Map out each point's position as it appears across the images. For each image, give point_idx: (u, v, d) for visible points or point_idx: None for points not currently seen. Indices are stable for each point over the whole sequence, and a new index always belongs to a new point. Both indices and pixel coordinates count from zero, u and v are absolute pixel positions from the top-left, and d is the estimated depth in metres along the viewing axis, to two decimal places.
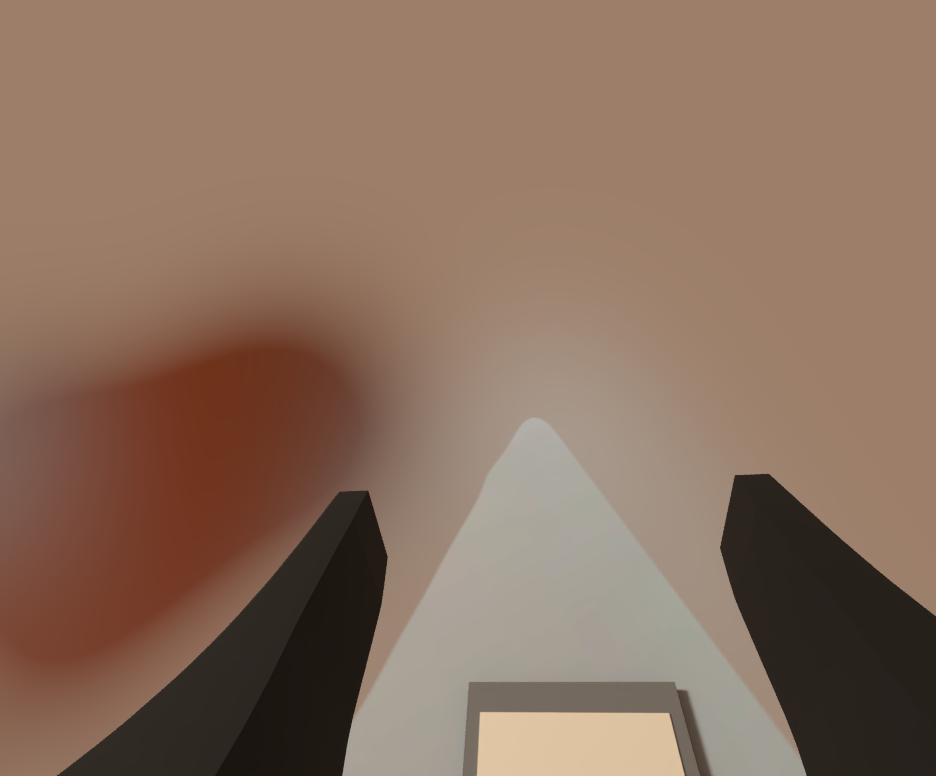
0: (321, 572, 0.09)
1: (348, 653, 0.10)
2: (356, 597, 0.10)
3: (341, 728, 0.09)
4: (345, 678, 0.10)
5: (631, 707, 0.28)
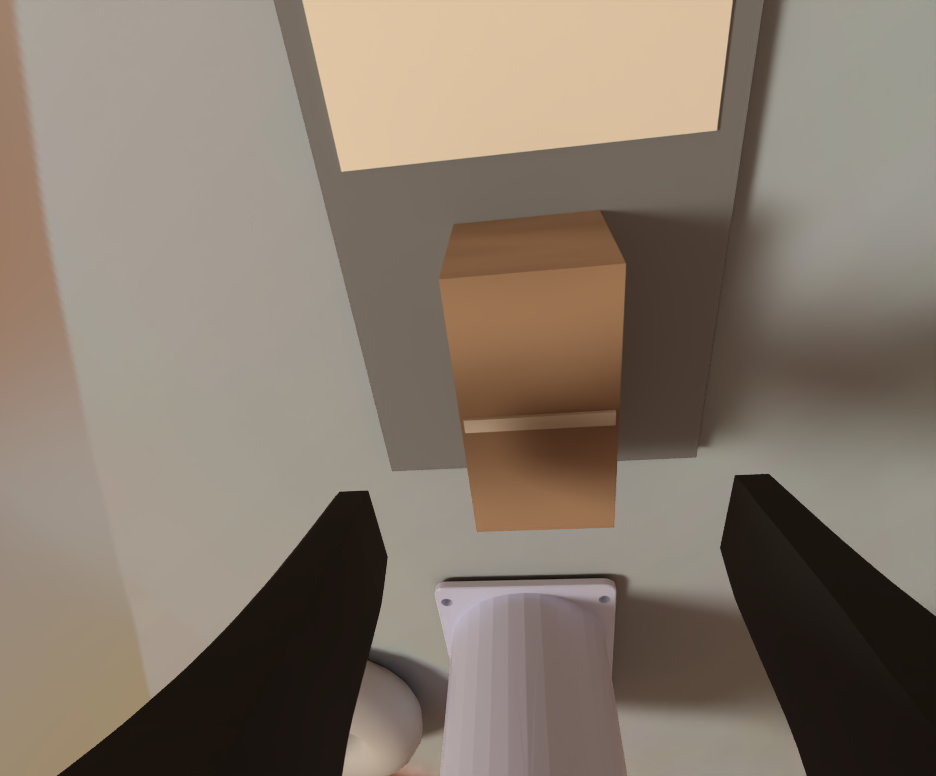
0: (321, 572, 0.09)
1: (348, 653, 0.10)
2: (356, 597, 0.10)
3: (341, 729, 0.09)
4: (345, 678, 0.10)
5: None
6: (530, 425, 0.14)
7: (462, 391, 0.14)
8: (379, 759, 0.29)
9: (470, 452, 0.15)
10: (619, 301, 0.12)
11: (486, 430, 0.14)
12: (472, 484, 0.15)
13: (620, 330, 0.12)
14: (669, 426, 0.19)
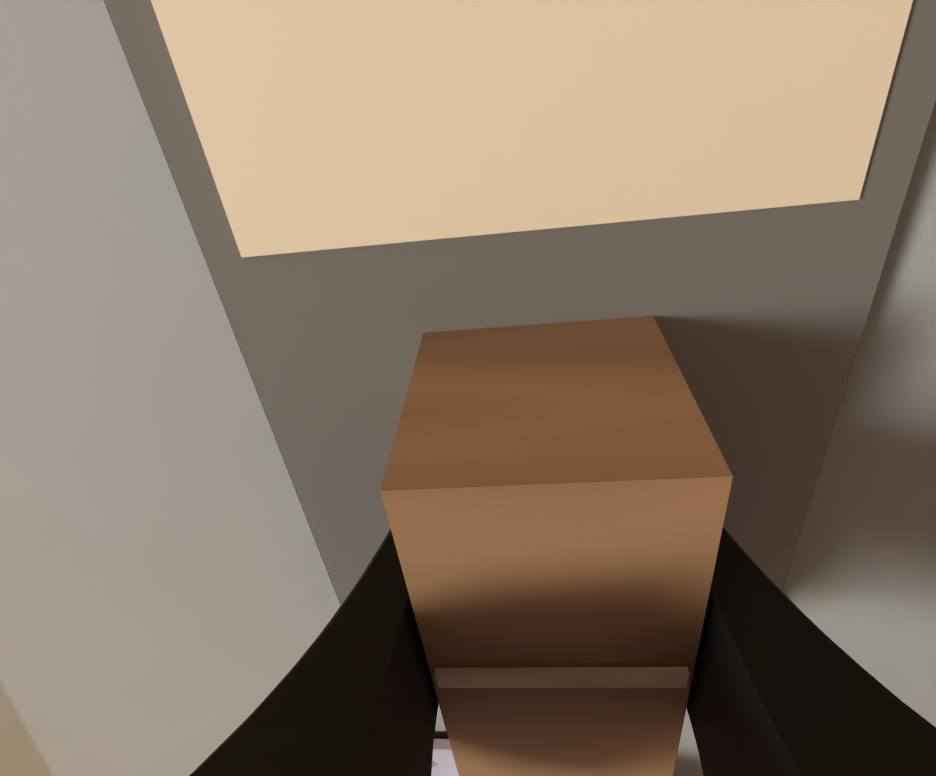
0: None
1: None
2: None
3: (428, 730, 0.09)
4: (431, 678, 0.09)
5: None
6: (544, 679, 0.09)
7: (431, 636, 0.08)
8: None
9: (448, 705, 0.09)
10: (712, 530, 0.07)
11: (472, 682, 0.09)
12: (452, 737, 0.10)
13: (709, 569, 0.07)
14: None
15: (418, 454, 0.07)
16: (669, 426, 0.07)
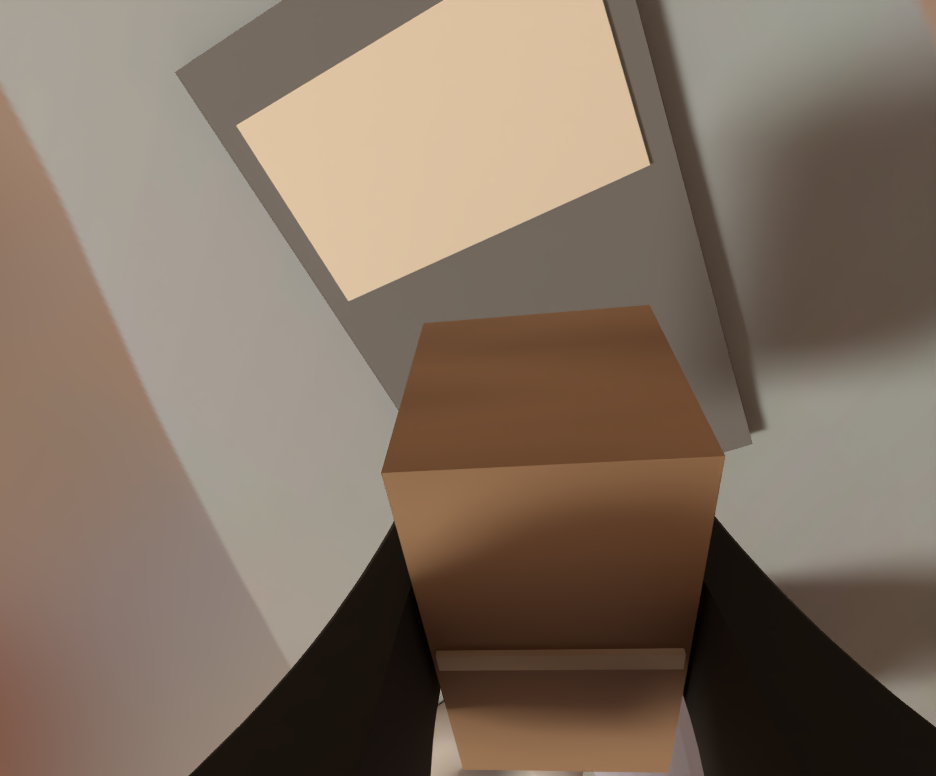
0: None
1: None
2: None
3: (428, 730, 0.09)
4: (431, 678, 0.09)
5: None
6: (544, 661, 0.09)
7: (432, 619, 0.08)
8: None
9: (449, 688, 0.09)
10: (706, 510, 0.07)
11: (473, 665, 0.09)
12: (454, 721, 0.10)
13: (703, 549, 0.07)
14: (713, 423, 0.19)
15: (418, 438, 0.07)
16: (663, 409, 0.07)
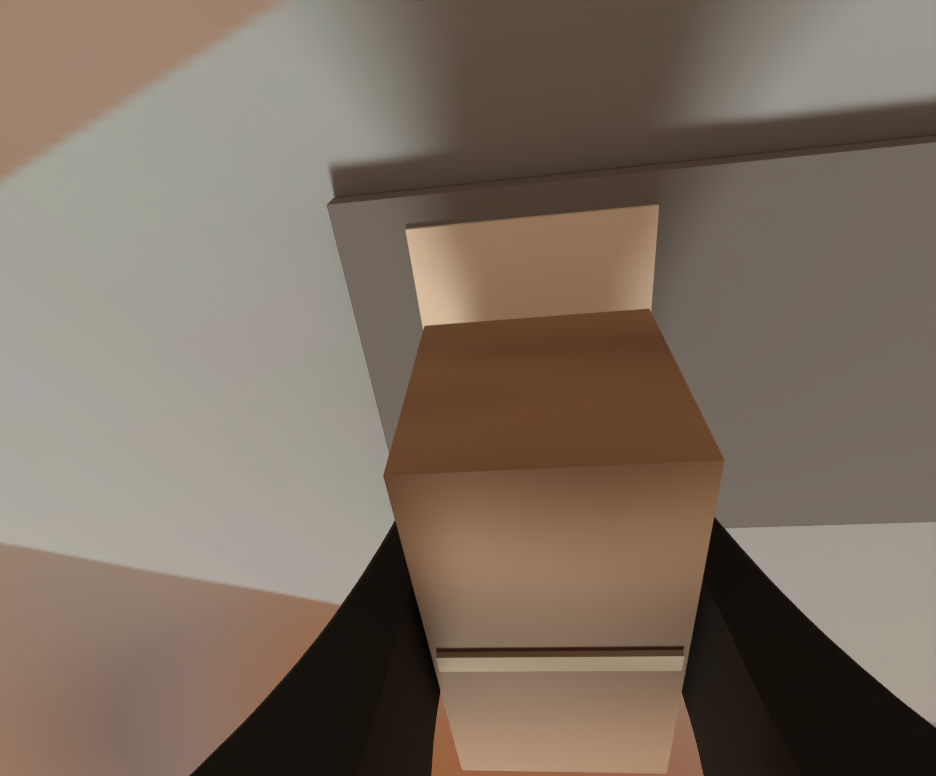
0: None
1: None
2: None
3: (428, 729, 0.09)
4: (431, 678, 0.09)
5: (405, 301, 0.14)
6: (543, 663, 0.09)
7: (433, 620, 0.08)
8: None
9: (449, 689, 0.09)
10: (705, 513, 0.07)
11: (472, 665, 0.09)
12: (453, 722, 0.10)
13: (702, 552, 0.07)
14: None
15: (420, 441, 0.07)
16: (663, 413, 0.07)
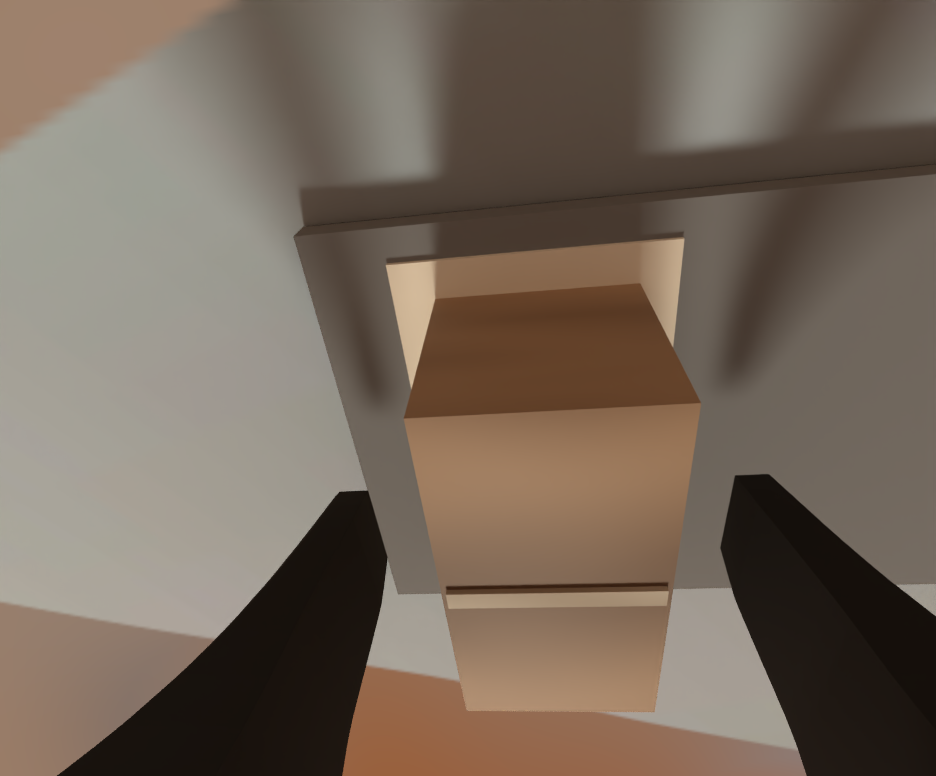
0: (321, 572, 0.09)
1: (348, 653, 0.10)
2: (356, 597, 0.10)
3: (340, 729, 0.09)
4: (345, 678, 0.10)
5: (388, 344, 0.12)
6: (542, 600, 0.10)
7: (443, 557, 0.09)
8: None
9: (456, 627, 0.10)
10: (685, 453, 0.08)
11: (479, 603, 0.10)
12: (459, 661, 0.11)
13: (683, 490, 0.08)
14: None
15: (435, 391, 0.08)
16: (650, 367, 0.08)
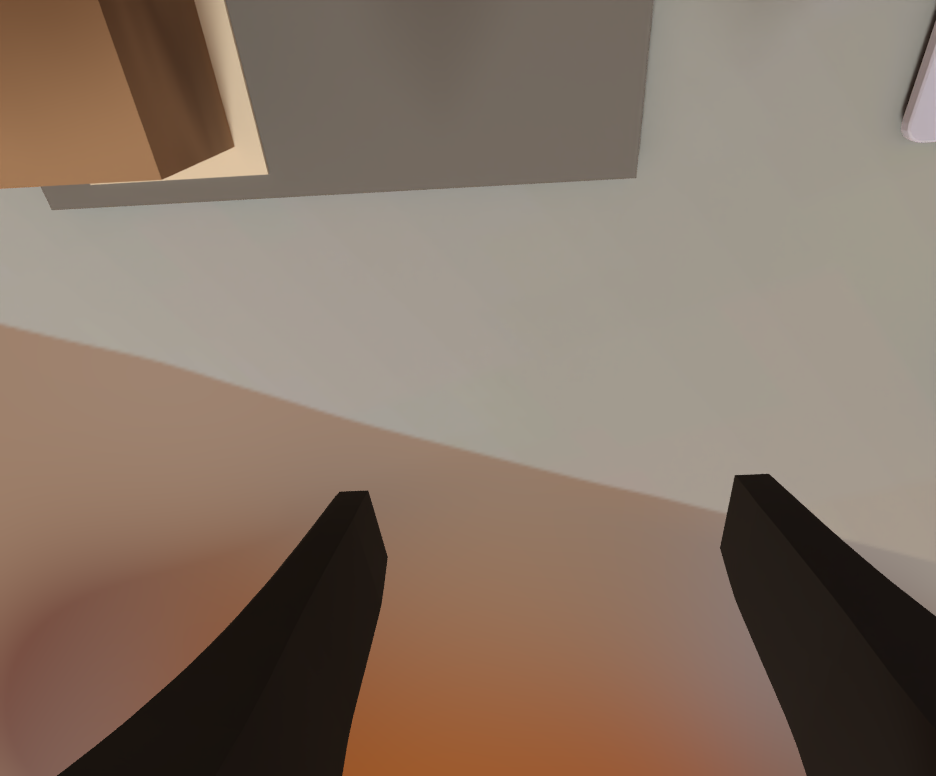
0: (321, 572, 0.09)
1: (348, 653, 0.10)
2: (356, 597, 0.10)
3: (341, 728, 0.09)
4: (345, 678, 0.10)
5: None
6: None
7: None
8: None
9: None
10: None
11: None
12: None
13: None
14: None
15: None
16: None
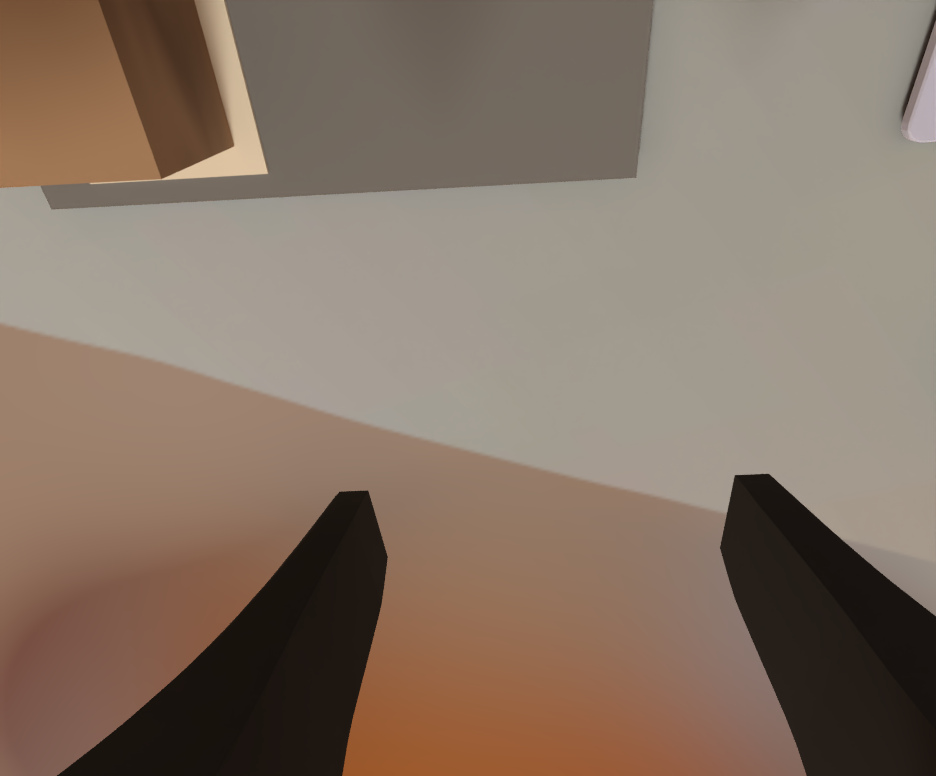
0: (321, 572, 0.09)
1: (348, 653, 0.10)
2: (356, 597, 0.10)
3: (341, 728, 0.09)
4: (345, 678, 0.10)
5: None
6: None
7: None
8: None
9: None
10: None
11: None
12: None
13: None
14: None
15: None
16: None
